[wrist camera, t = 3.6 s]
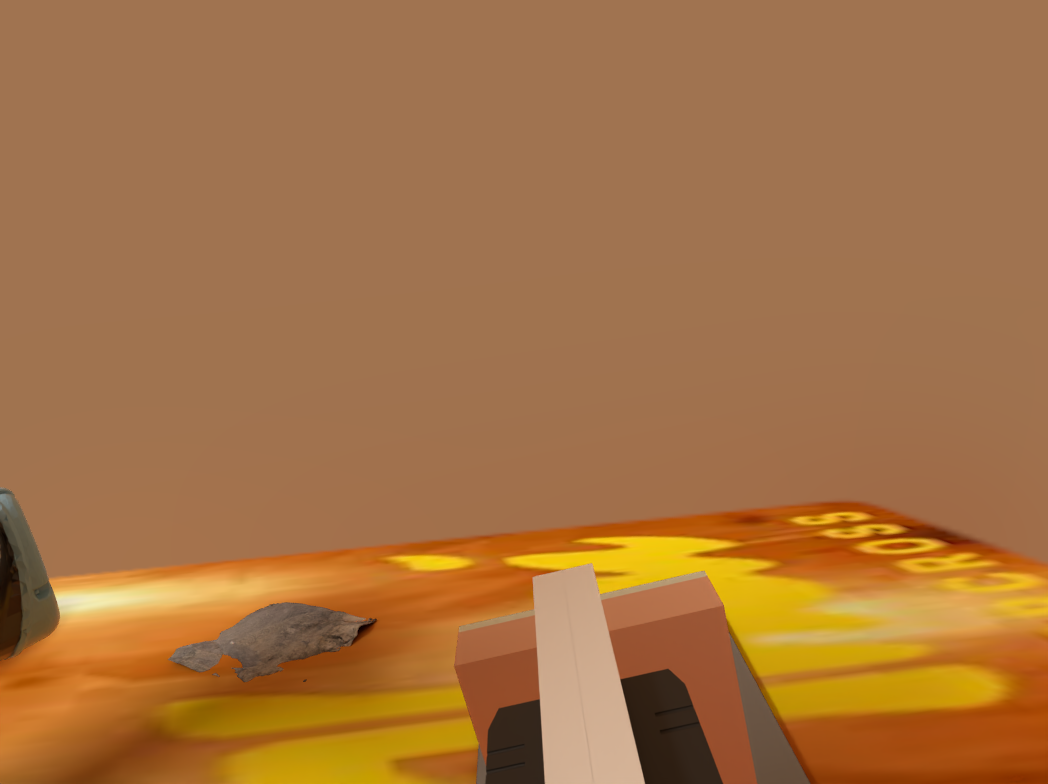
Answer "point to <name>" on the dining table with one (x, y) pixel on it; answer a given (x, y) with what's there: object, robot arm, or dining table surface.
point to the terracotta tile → (624, 661)
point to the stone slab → (274, 639)
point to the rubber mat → (769, 746)
